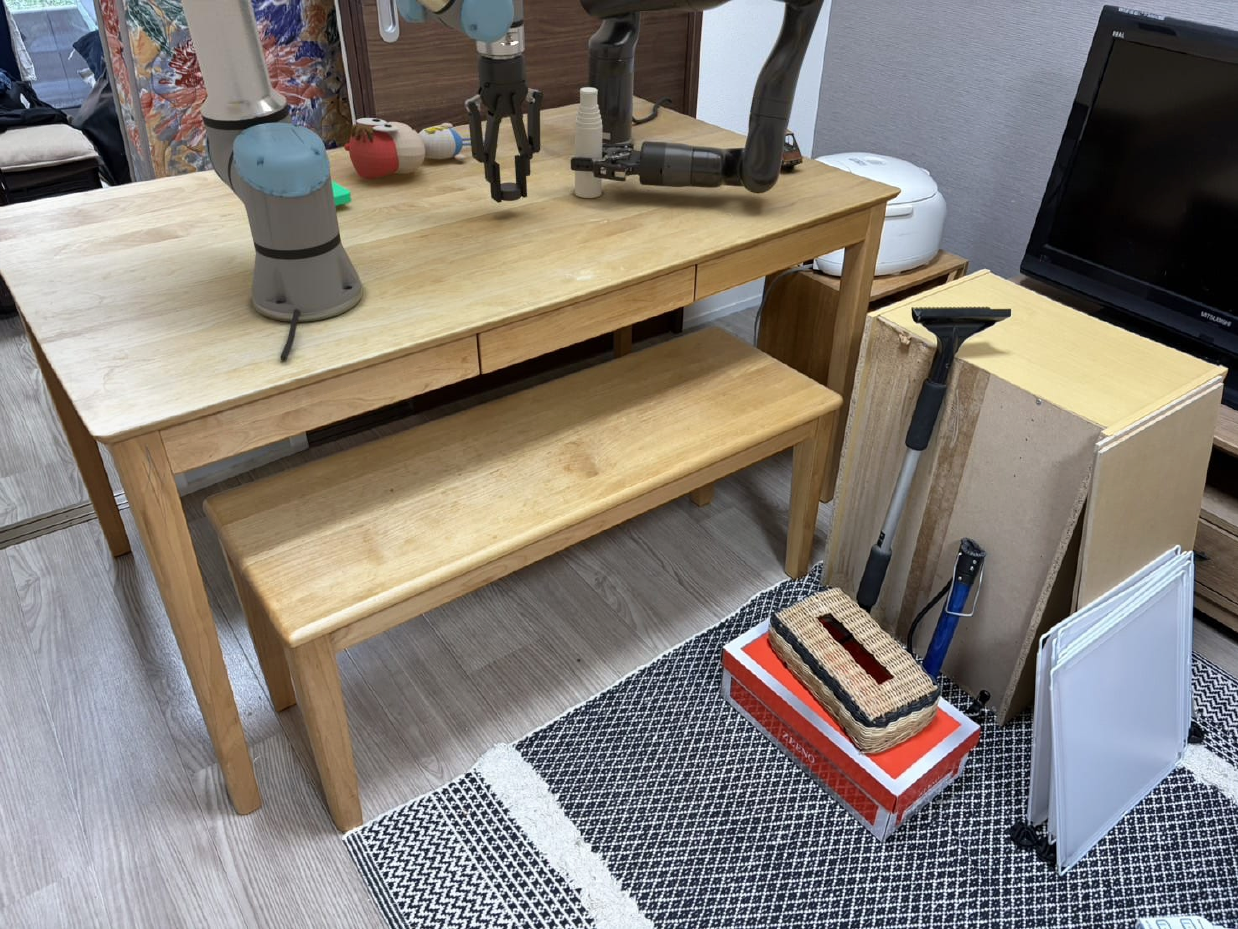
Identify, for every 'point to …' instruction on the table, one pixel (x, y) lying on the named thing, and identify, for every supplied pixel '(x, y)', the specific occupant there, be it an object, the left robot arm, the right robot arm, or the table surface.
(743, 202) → the table surface
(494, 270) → the table surface
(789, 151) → the toy car
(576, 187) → the bottle
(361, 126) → the toy
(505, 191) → the cap
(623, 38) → the right robot arm
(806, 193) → the table surface
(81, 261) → the table surface
